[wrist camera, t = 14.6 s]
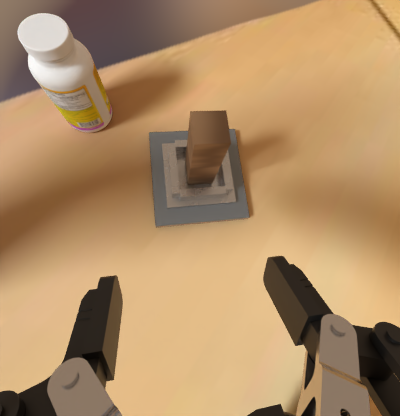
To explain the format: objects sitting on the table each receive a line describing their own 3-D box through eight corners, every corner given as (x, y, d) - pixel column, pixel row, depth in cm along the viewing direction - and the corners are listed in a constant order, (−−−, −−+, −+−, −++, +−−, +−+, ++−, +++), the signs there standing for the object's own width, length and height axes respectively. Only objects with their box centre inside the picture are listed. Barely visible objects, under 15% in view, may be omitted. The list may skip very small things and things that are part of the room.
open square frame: (167, 208, 31) (166, 203, 29) (162, 145, 33) (161, 136, 31) (235, 203, 32) (240, 197, 30) (225, 142, 35) (229, 133, 32)
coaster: (156, 227, 31) (155, 226, 30) (149, 136, 35) (149, 132, 34) (247, 218, 33) (249, 217, 32) (233, 132, 36) (234, 128, 35)
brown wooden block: (187, 185, 32) (194, 144, 21) (185, 161, 33) (190, 111, 22) (212, 183, 32) (231, 142, 22) (209, 160, 33) (226, 110, 22)
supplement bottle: (85, 88, 36) (38, -6, 23) (122, 109, 35) (94, 25, 23) (57, 120, 34) (-11, 36, 21) (95, 142, 34) (49, 70, 21)
